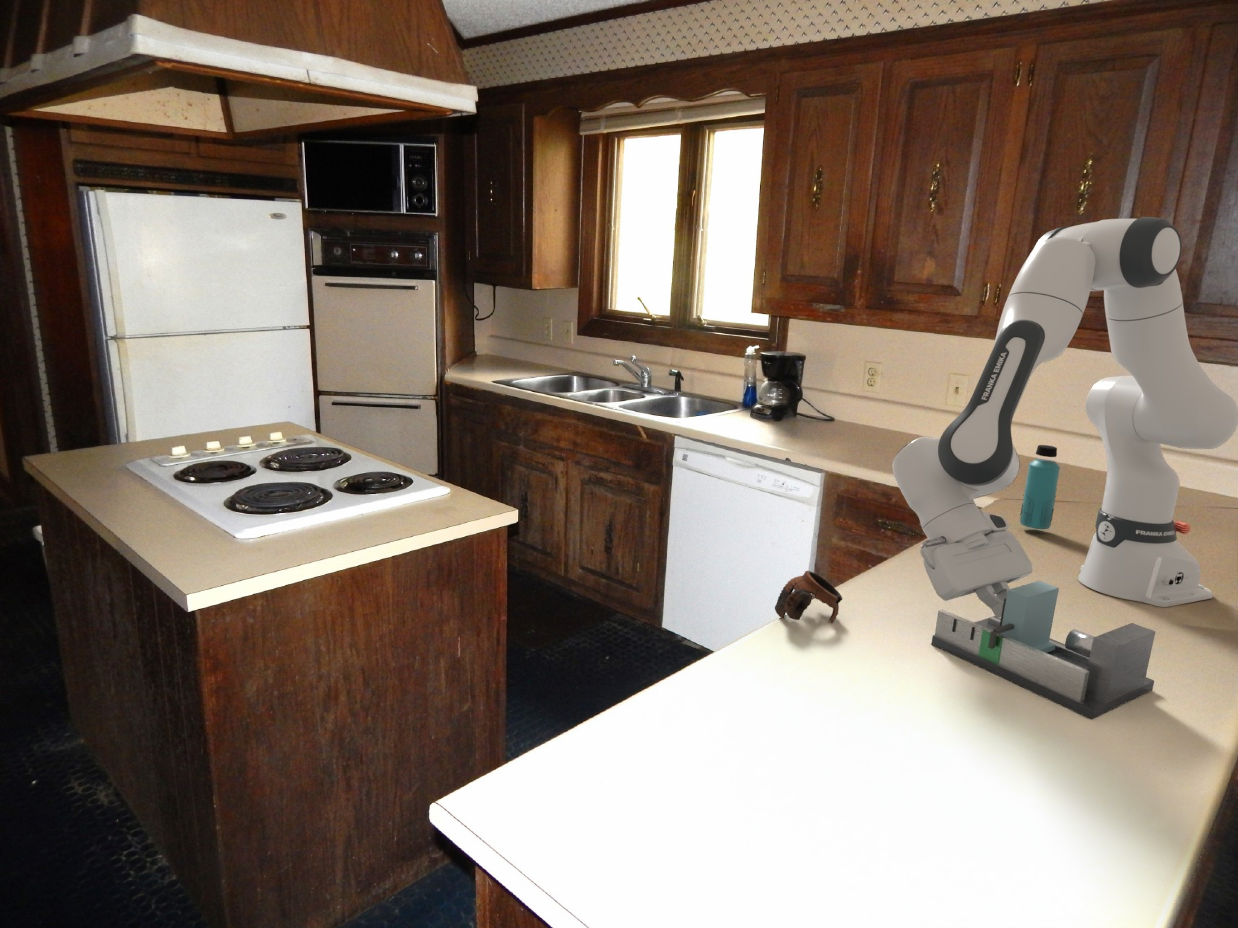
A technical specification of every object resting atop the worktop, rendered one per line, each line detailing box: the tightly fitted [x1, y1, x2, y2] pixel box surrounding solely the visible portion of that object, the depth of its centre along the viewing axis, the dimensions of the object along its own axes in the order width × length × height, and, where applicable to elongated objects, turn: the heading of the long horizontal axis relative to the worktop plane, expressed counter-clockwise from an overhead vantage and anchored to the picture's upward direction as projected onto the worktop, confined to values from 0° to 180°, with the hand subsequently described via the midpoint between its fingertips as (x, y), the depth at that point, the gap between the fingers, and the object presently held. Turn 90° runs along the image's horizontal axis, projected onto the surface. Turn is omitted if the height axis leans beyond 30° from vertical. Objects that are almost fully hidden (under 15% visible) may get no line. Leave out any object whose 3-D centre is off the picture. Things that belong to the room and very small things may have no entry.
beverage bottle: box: [1019, 444, 1061, 530], centre depth 181 cm, size 6×7×20 cm
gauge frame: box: [931, 609, 1156, 721], centre depth 116 cm, size 24×16×10 cm, turn 33°
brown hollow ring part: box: [774, 570, 843, 624], centre depth 129 cm, size 12×10×8 cm
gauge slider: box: [988, 580, 1060, 653], centre depth 116 cm, size 5×13×9 cm, turn 123°
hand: (1007, 614), depth 120 cm, fingers closed
